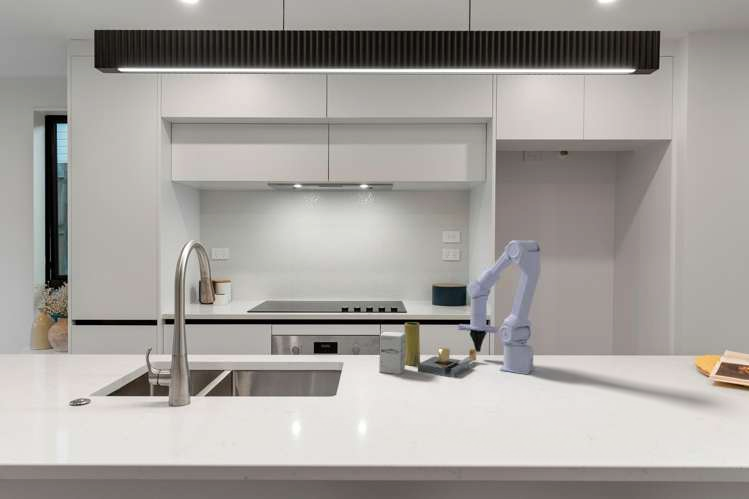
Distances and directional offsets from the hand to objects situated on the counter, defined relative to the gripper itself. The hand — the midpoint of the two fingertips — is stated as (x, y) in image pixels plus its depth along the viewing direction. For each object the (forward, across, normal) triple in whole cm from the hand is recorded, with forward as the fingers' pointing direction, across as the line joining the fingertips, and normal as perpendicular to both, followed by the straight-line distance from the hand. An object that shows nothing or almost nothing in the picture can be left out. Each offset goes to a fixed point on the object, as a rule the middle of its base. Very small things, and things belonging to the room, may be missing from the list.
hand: (477, 351), depth 188 cm
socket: (+3, -6, -20) cm, 21 cm away
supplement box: (+3, -22, -29) cm, 36 cm away
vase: (+3, -19, -17) cm, 26 cm away
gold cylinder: (+3, -6, -20) cm, 21 cm away
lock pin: (+2, -1, -11) cm, 11 cm away
